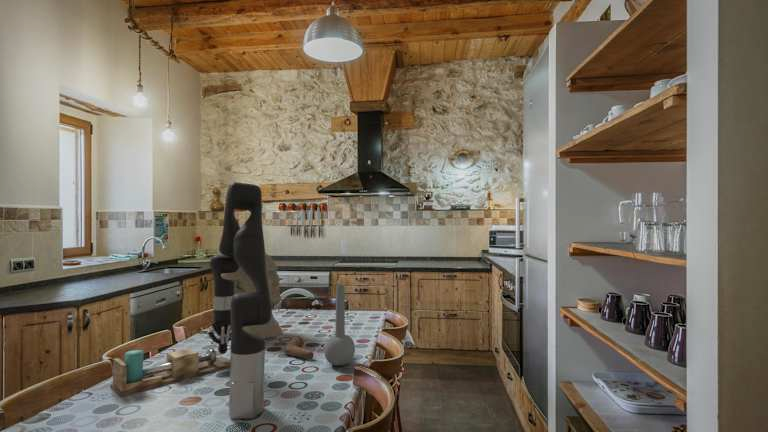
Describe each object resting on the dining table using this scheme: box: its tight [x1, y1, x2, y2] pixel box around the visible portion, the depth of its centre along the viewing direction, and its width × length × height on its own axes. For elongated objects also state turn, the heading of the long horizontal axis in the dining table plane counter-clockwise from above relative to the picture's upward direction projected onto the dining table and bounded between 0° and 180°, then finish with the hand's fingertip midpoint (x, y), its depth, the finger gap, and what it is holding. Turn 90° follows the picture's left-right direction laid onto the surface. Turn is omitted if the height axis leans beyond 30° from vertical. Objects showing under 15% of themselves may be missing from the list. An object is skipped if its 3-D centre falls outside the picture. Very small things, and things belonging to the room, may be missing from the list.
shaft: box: [143, 348, 217, 377], centre depth 138 cm, size 24×5×5 cm, turn 139°
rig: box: [109, 347, 230, 397], centre depth 137 cm, size 37×11×9 cm, turn 139°
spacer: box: [124, 349, 144, 384], centre depth 127 cm, size 5×5×10 cm
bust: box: [221, 252, 283, 340], centre depth 191 cm, size 25×28×40 cm
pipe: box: [284, 335, 315, 361], centre depth 161 cm, size 6×17×10 cm
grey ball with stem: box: [323, 284, 356, 367], centre depth 154 cm, size 12×19×30 cm, turn 12°
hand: (222, 353), depth 150 cm, fingers closed
